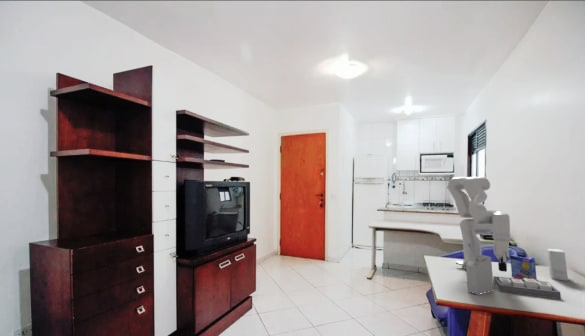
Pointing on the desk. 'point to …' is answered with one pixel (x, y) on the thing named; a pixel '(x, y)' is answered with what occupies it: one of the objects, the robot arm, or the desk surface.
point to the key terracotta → (518, 282)
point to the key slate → (505, 281)
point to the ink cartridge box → (523, 266)
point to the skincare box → (557, 264)
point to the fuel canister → (479, 273)
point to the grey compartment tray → (527, 289)
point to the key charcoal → (544, 286)
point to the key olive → (530, 283)
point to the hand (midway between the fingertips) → (502, 270)
